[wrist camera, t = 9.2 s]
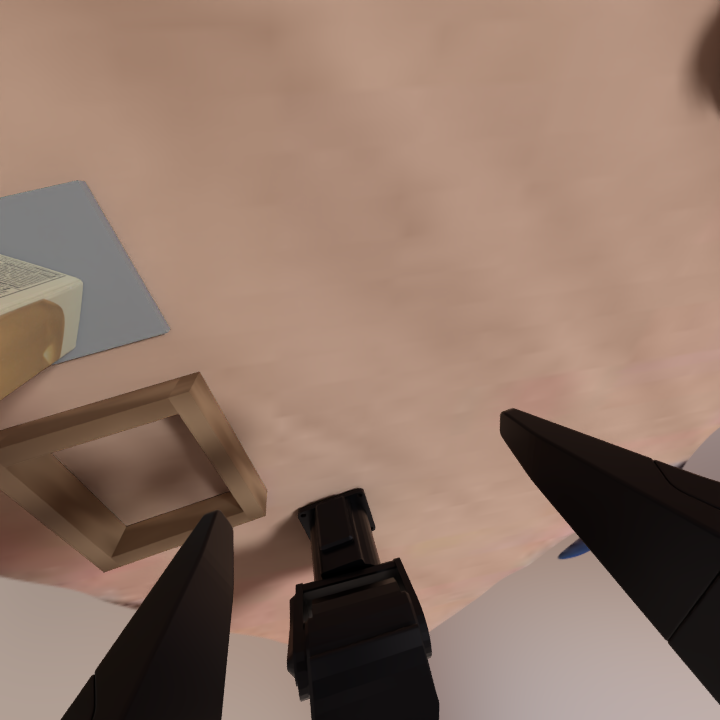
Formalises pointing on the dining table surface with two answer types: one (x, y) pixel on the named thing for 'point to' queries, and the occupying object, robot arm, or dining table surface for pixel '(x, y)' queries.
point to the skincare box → (34, 319)
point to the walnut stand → (84, 511)
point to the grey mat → (82, 263)
